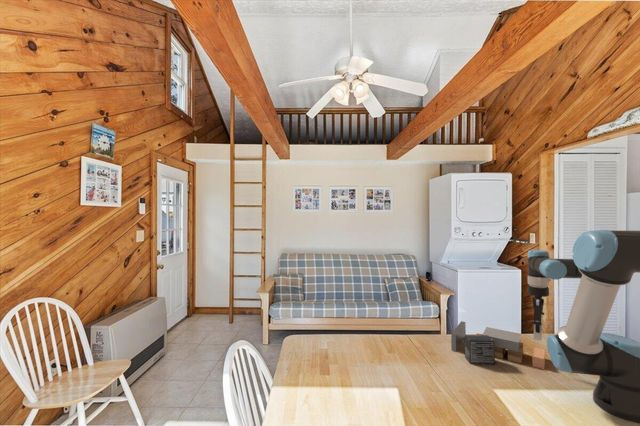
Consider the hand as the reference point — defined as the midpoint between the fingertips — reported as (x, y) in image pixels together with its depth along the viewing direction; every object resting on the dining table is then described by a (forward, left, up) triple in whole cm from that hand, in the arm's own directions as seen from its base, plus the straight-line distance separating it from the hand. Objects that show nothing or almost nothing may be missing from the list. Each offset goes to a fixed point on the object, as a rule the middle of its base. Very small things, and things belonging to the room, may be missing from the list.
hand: (538, 334), depth 132 cm
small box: (-14, +21, -12) cm, 28 cm away
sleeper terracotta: (0, 0, -12) cm, 12 cm away
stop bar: (0, +32, -12) cm, 35 cm away
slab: (0, +14, -7) cm, 16 cm away
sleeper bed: (0, +15, -12) cm, 20 cm away
